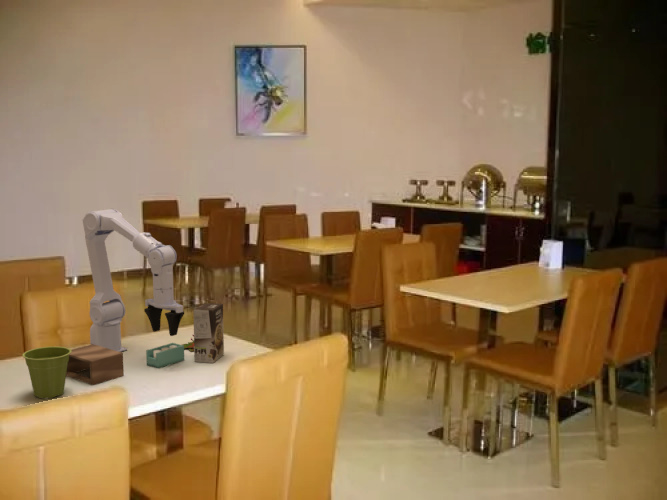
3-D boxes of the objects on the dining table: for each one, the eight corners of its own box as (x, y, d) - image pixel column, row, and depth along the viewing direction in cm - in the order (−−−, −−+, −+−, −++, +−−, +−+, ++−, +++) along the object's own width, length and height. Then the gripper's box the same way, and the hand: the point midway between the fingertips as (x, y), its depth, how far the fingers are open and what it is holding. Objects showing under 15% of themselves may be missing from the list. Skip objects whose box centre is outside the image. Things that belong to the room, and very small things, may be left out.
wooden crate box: (63, 374, 208) (61, 352, 207) (93, 366, 215) (92, 344, 214) (93, 385, 199) (91, 361, 198) (123, 375, 207) (122, 352, 206)
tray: (146, 365, 216) (146, 350, 216) (173, 357, 224) (172, 342, 224) (157, 368, 213) (157, 353, 213) (184, 360, 221) (183, 345, 221)
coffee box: (214, 363, 218) (213, 310, 216) (193, 362, 220) (192, 309, 217) (224, 354, 227) (223, 303, 225) (205, 353, 228) (203, 302, 226)
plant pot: (78, 396, 191) (76, 354, 189) (30, 405, 184) (27, 362, 183) (67, 383, 200) (65, 343, 199) (21, 391, 194) (18, 350, 192)
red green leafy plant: (171, 346, 237) (171, 333, 236) (205, 340, 244) (205, 327, 243) (188, 356, 227) (188, 341, 226) (223, 349, 234) (222, 335, 233)
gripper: (190, 288, 214) (191, 334, 216) (157, 282, 223) (159, 326, 225) (171, 292, 209) (173, 339, 211) (138, 286, 217) (140, 331, 219)
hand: (164, 333), depth 217 cm, fingers open, 7 cm apart
